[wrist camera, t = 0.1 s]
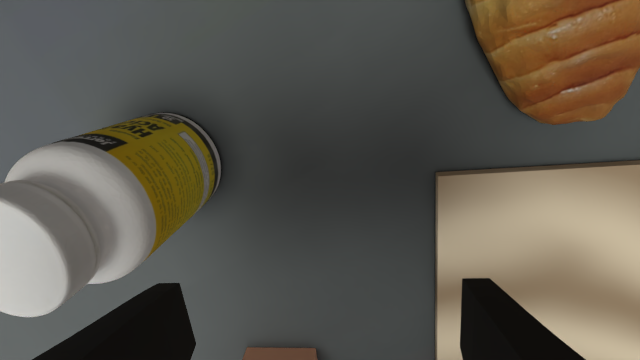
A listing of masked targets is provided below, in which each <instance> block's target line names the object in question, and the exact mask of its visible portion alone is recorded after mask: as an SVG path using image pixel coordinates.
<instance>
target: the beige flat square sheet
mask: <svg viewBox="0 0 640 360" xmlns="http://www.w3.org/2000/svg"><path fill="white" fill-rule="evenodd" d="M462 278H490V279H491V280H492V281H493V282H495V283H496V284H497V285H498V286H499V287H500V288H501V289H503V290H504V291H505V292H506V293H507V294H508V295H509V296H510V297H512V298H513V299H514V300H515V301H516V302H517V303H518V304H519V305H521V306H522V307H523V308H524V309H525V310H526V311H527V312H529V313H530V314H531V315H532V316H533V317H534V318H536V319H537V320H538V321H539V322H540V323H541V324H543V325H544V326H545V327H546V328H547V329H549V330H550V331H551V332H552V333H553V334H555V335H556V336H557V337H558V338H559V339H561V340H562V341H563V342H564V343H566V344H567V345H568V346H569V347H571V348H572V349H573V350H574V351H576V352H577V353H578V354H579V355H581V356H582V357H583V358H584V359H586V360H640V160H634V161H617V162H600V163H583V164H566V165H549V166H532V167H516V168H499V169H482V170H465V171H448V172H436V247H435V360H463V358H462V353H461V349H460V328H461V298H462Z"/></svg>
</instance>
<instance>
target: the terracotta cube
mask: <svg viewBox="0 0 640 360" xmlns="http://www.w3.org/2000/svg"><path fill="white" fill-rule="evenodd" d="M242 360H317V354H316V348H256V347H247V349H246V352H245V354H244V357H243V359H242Z"/></svg>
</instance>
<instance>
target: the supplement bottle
mask: <svg viewBox="0 0 640 360" xmlns="http://www.w3.org/2000/svg"><path fill="white" fill-rule="evenodd" d="M220 176H221V164H220V158H219V154H218V152H217V149H216V147H215V145H214V143H213V142H212V140H211V139H210V137H209V136H208V135H207V134H206V132H205V131H204V130H203V129H202V128H201V127H199V126H198V125H197V124H196V123H194V122H193V121H191V120H189V119H187V118H185V117H182V116H180V115H176V114H171V113H156V114H150V115H147V116H143V117H139V118H136V119H132V120H129V121H126V122H123V123H119V124H116V125H112V126H109V127H106V128H102V129H99V130H96V131H92V132H89V133H85V134H82V135H79V136H75V137H72V138H68V139H64V140H61V141H58V142H54V143H52V144H49V145H46V146H43V147H40V148H38V149H35V150H33V151H31V152H30V153H28V154H26V155H25V156H24V157H22V158H21V159H20V160H19V161H18V162H17V163H16V164H15V165H14V166H13V167H12V169H11V170H10V172H9V173H8V175H7V177H6V180H5V182H4V183H1V184H0V311H1V312H4V313H7V314H10V315H15V316H21V317H36V316H41V315H45V314H48V313H50V312H52V311H54V310H55V309H57V308H58V307H60V306H61V305H62V304H63V303H65V302H66V301H67V300H68V299H70V298H71V297H72V296H73V295H74V294H76V293H77V292H78V291H79V290H81V289H82V288H83V287H84V286H85V285H86V284H98V283H105V282H110V281H113V280H116V279H119V278H121V277H123V276H125V275H127V274H128V273H130V272H131V271H133V270H134V269H135V268H136V267H138V266H139V265H140V264H141V263H142V262H143V261H145V260H146V259H147V258H148V257H149V256H150V255H151V254H152V253H153V252H154V251H155V250H156V249H157V248H158V247H159V246H161V245H162V244H163V243H164V242H165V241H166V240H167V239H168V238H169V237H170V236H171V235H172V234H173V233H174V232H175V231H177V230H178V229H179V228H180V227H181V226H182V225H183V224H184V223H185V222H186V221H187V220H188V219H189V218H191V217H192V216H193V215H194V214H195V213H196V212H197V211H198V210H199V209H200V208H201V207H202V206H203V205H204V204H205V203H206V202H207V201H208V200H209V199H210V198H211V197H212V195H213V194H214V193H215V191H216V189H217V187H218V184H219V181H220Z"/></svg>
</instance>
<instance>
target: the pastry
mask: <svg viewBox="0 0 640 360" xmlns="http://www.w3.org/2000/svg"><path fill="white" fill-rule="evenodd" d="M465 4H466V7H467V9H468V11H469V14H470V17H471V20H472V23H473V26H474V30H475V33H476V37H477V39H478V42H479V44H480V45H481V47H482V49H483V51H484V53H485V55H486V57H487V59H488V61H489V63H490V65H491V67H492V69H493V71H494V73H495V75H496V77H497V79H498V81H499V83H500V85H501V87H502V89H503V91H504V92H505V94H506V96H507V97H508V99H509V100H510V101H511V102H512V103H513V104H514V105H515V106H516V107H518V109H519V110H520V111H522V112H523V113H525V114H527V115H528V116H530V117H532V118H533V119H535V120H537V121H538V122H540V123H548V124H552V125H556V124H566V123H571V122H576V121H586V122H587V121H595V120H598V119H602V118H603V117H605V116H606V115H607V114H608V113H609V112H610V111H611V109H612V107H613V105H614V104H616V103H617V102H618V101H619V100H620V99H622V98H623V97H624V96H625V94H626V93H627V91H628V88H629V86H630V85H631V83H632V81H633V79H634V77H635V74H636V72H637V71H638V69H639V67H640V0H465Z"/></svg>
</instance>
